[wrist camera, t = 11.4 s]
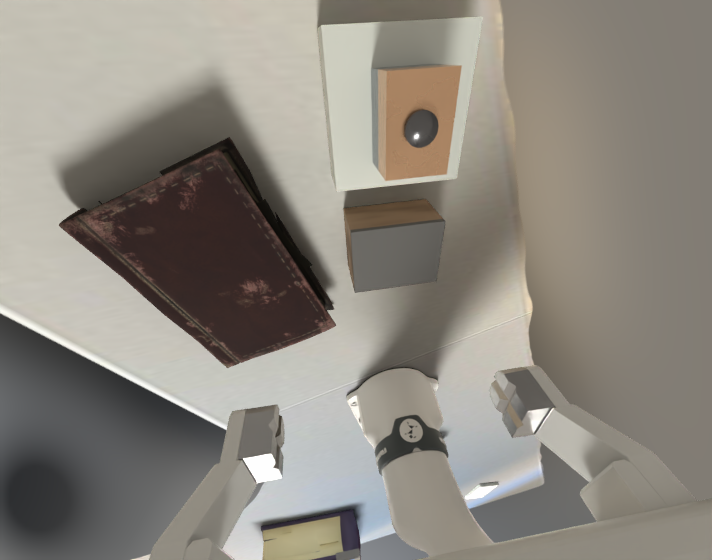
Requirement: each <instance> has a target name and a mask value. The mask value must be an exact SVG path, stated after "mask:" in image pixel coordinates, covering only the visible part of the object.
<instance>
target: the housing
mask: <svg viewBox="0 0 712 560" xmlns="http://www.w3.org/2000/svg"><path fill="white" fill-rule="evenodd" d="M461 68H462V66H461V65H446V64H422V65H408V66H394V67H380V68H371V100H372V160H373V164H374V165H375V167H376V168H377V170H378V171H379V172H380V174H381V175H382V177H383V178H384V180H385V181H390V180H399V179H408V178H418V177H427V176H436V175H445V174H447V170H448V163H449V155H450V148H451V141H452V133H453V126H454V119H455V112H456V104H457V97H458V90H459V83H460V75H461Z"/></svg>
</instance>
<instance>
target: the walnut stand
mask: <svg viewBox="0 0 712 560" xmlns="http://www.w3.org/2000/svg"><path fill="white" fill-rule="evenodd" d="M344 221H345V233H346V246H347V258H348V266H349V270H350V275H351V279H352V283H353V287H354V291H355V293H357V292H364V291H371V290H379V289H386V288H393V287H400V286H407V285H414V284H421V283H428V282H435V281H437V274H438V267H439V261H440V254H441V248H442V241H443V235H444V228H445V220H444V219H443V218H442V217H441V216H440V214H439V213H438V212H437V211H436V210H435V209H434V208H433V207H432V205H431V204H430V203H429V202H428V201H427V200H426V199H422V200H413V201H404V202H395V203H386V204H378V205H369V206H360V207H351V208H344Z"/></svg>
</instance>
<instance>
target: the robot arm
mask: <svg viewBox="0 0 712 560" xmlns="http://www.w3.org/2000/svg"><path fill="white" fill-rule="evenodd" d="M494 377H495V379H496V380H495V381H494V382H493V383H492V384H491V386H490V389H489V390H490V397H491V400H492V402H493V404H494V406H495V408H496V409H497V410H499V411H500V412H501V413H503V418H502V421H503V422H504V424H505V426H506V428H507V429H508V431H509V433H510V435H511V436H512V438H514V437H521V436H528V435H534V436H535V437H536V438H537V439H539V440H540V441H541V442H542V443H543V444H545V445H546V446H547V447H548V448H549V449H550V450H552V451H553V452H554V453H555V454H556V455H558V456H559V457H560V458H561V459H562V460H564V461H565V462H566V463H567V464H568V465H570V466H571V467H572V468H573V469H574V470H575V471H577V472H578V473H579V474H580V475H581V476H583V477H584V478H585V479H586V480H587V481H588V482H590V483H588V485H586V486H585V487H584V488H583V489H582V490H581V493H580V496H581V497H582V499H583V501H584V502H585V504H586V505H587V507H588V508H589V510H590V512H591V513H592V515H593V516H594V518H595V519H596V521H597V522H595V523H590V524H586V525H581V526H575V527H571V528H566V529H561V530H556V531H551V532H547V533H542V534H537V535H532V536H528V537H523V538H518V539H513V540H509V541H503V542H499V543H494V542H493V541H492V540H491V539H490V538H489V537H488V536H487V535H486V534H485V532H484V531H483V530H482V529H481V527H480V526H479V525H478V523H477V522H476V520H475V519H474V517H473V516H472V514H471V512H470V511H469V509H468V507H467V505H466V502H465V500H464V498H463V496H462V494H461V491H460V489H459V487H458V484H457V482H456V480H455V477H454V475H453V472H452V470H451V467H450V464H449V462H448V459H447V458H448V452H447V449H446V444H445V441H444V440H443V438H442V435H441V433H440V432H439V430H440V428H441V426H442V423H443V416H442V413H441V410H440V407H439V404H438V401H437V399H436V396H435V392H436V390H437V388H438V386H439V385H438V381H437V380H436V379H433V378H429V377H427V376H425V375H424V374H423V373H422V372H420V371H418V370H414V369H409V368H399V369H392V370H388V371H384V372H381V373H379V374H377V375H375V376H373V377H371V378H370V379H368V380H367V381H366V382H364V383H363V384H362V386H361V387H360V388H359V389H357V390H356V391H354V392H352V393H350V394H349V395H348V396H347V402H348V404H349V406H350V408H351V410H352V411H353V413H354V415H355V417H356V419H357V421H358V423H359V425H360V427H361V428H362V430H363V433H364V437H366V438H367V440H368V441H369V443H370V444H371V445H372V447H373V448H374V449H375V456H376V463H377V467H378V469H379V473H380V474H381V475H382V476H383V481H384V486H385V491H386V495H387V500H388V505H389V510H390V515H391V520H392V525H393V527H394V529H395V531H396V533H397V534H398V536H399V537H400V538H401V539H402V540H403V541H404V542H405V543H407V544H408V545H410V546H412V547H414V548H417V549H419V550H422V551H425V552H426V553H427V554H428V555H429V557H427V558H422V559H418V560H712V498H710V499H705V500H700V501H697V500H696V499H695V498H694V497H693V496H692V494H691V493H690V492H689V491H688V490H687V489H686V488H685V487H684V486H683V485H682V483H681V482H680V481H679V480H678V479H677V478H676V477H675V476H674V475H673V473H672V472H671V471H670V470H669V469H668V468H667V467H666V466H665V465H664V463H663V462H662V461H661V460H660V459H659V458H658V457H657V456H656V455H655V453H653V452H652V451H650V450H648V449H647V448H645V447H644V446H642V445H640V444H638V443H637V442H635V441H634V440H632V439H630V438H629V437H627V436H625V435H624V434H622V433H620V432H619V431H617V430H615V429H614V428H612V427H611V426H609V425H607V424H606V423H604V422H602V421H601V420H599V419H597V418H595V417H594V416H592V415H591V414H589V413H587V412H586V411H584V410H582V409H581V408H579V407H577V406H576V405H570V404H569V403H568V402H567V400H566V399H565V398H564V396H563V395H562V394H561V393H560V391H559V390H558V389H557V387H556V386H555V385H554V384H553V382H552V381H551V380H550V379H549V377H548V376H547V375H546V374H545V372H544V371H543V370H542V369H541V368H540V367H539V366H536V365H532V366H526V367H519V368H513V369H507V370H501V371H498V372H496V373H495V376H494ZM283 444H284V423H283V419H282V416H280V415H279V408H278V405H271V406H264V407H258V408H251V409H243V410H237V411H232V413H231V415H230V417H229V422H228V426H227V431H226V436H225V440H224V445H223V450H222V455H221V459H220V463H219V464H215V465H214V466H213V468H212V469H211V470H210V472H209V473H208V474H207V476H206V477H205V478H204V480H203V481H202V482H201V484H200V485H199V486H198V488H197V489H196V490H195V492H194V493H193V494H192V496H191V497H190V498H189V500H188V501H187V502H186V504H185V505H184V506H183V507H182V509H181V510H180V511H179V513H178V514H177V515H176V517H175V518H174V520H173V521H172V522H171V523H170V525H169V526H168V528H167V529H166V530H165V531H164V533H163V534H162V535H161V537H160V538H159V540H158V541H157V542H156V543H155V545H154V546H153V549H152V552H151V555H150V558H149V560H234V558H232V557H231V556H230V555H229V554H227V553H226V552H225V551H224V550H222V548H223V546H224V545H225V543H226V541H227V539H228V537H229V535H230V533H231V532H232V530H233V528H234V526H235V524H236V522H237V521H238V519H239V517H240V515H241V513H242V511H243V510H244V508H245V506H246V504H247V502H248V500H249V499H250V497H251V495H252V493H253V491H254V489H255V488H256V486H257V484H256V483H259V482H264V481H269V480H274V479H279V478H282V471H283V455H282V452H281V450H280V449H281V447H282V446H283Z"/></svg>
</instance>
